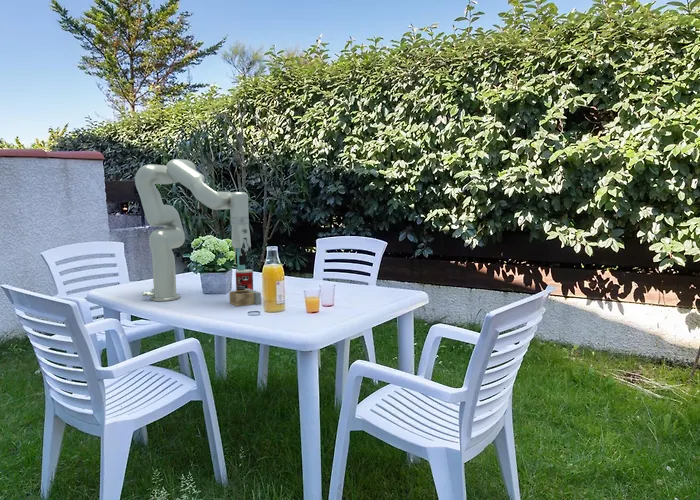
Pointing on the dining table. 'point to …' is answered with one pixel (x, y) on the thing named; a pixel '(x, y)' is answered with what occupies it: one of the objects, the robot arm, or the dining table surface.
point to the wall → (256, 296)
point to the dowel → (240, 267)
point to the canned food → (244, 279)
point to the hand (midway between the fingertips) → (241, 263)
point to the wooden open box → (242, 298)
